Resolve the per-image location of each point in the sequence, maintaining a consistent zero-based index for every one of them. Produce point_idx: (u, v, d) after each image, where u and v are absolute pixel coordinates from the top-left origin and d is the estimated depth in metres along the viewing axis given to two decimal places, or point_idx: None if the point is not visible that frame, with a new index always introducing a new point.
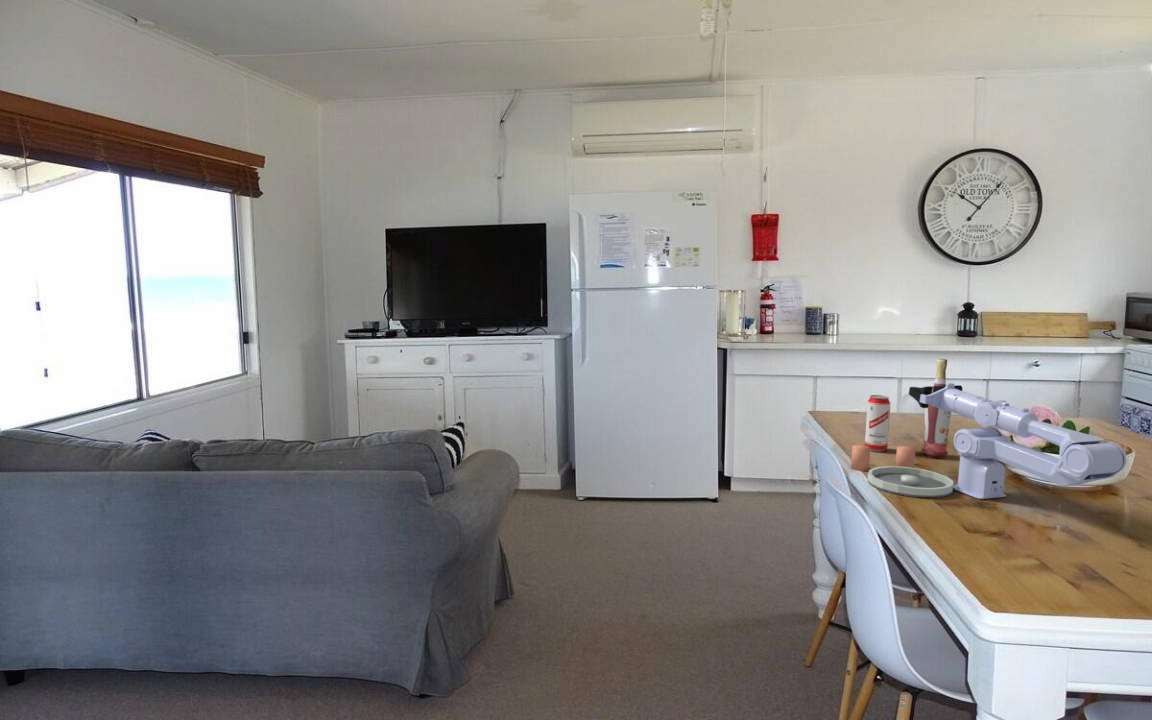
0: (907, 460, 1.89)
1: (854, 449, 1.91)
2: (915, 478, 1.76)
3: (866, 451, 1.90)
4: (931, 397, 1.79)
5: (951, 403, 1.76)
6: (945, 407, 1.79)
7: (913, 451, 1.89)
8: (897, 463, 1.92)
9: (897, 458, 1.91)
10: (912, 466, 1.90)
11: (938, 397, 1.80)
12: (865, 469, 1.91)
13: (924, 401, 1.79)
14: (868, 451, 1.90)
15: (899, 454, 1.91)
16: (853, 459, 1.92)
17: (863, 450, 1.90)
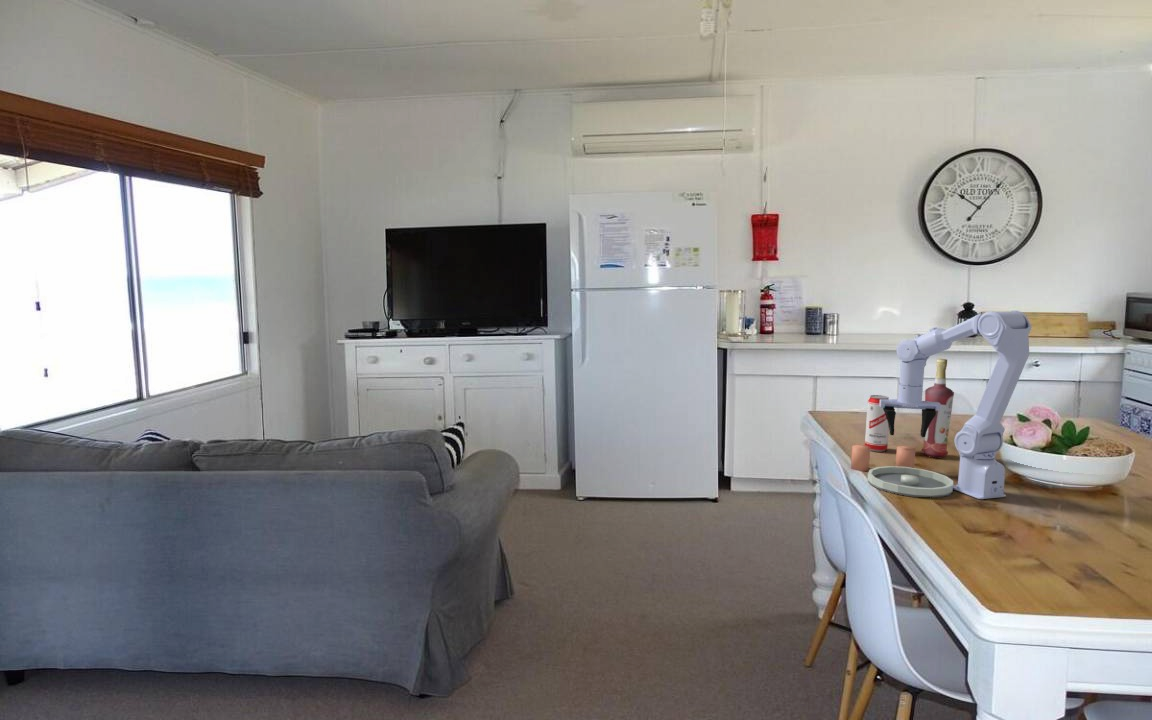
0: (907, 460, 1.89)
1: (854, 449, 1.91)
2: (915, 478, 1.76)
3: (866, 451, 1.90)
4: None
5: (899, 386, 1.90)
6: (902, 396, 1.88)
7: (913, 451, 1.89)
8: (897, 463, 1.92)
9: (897, 458, 1.91)
10: (912, 466, 1.90)
11: (896, 401, 1.91)
12: (865, 469, 1.91)
13: (880, 401, 1.91)
14: (868, 451, 1.90)
15: (899, 454, 1.91)
16: (853, 459, 1.92)
17: (863, 450, 1.90)
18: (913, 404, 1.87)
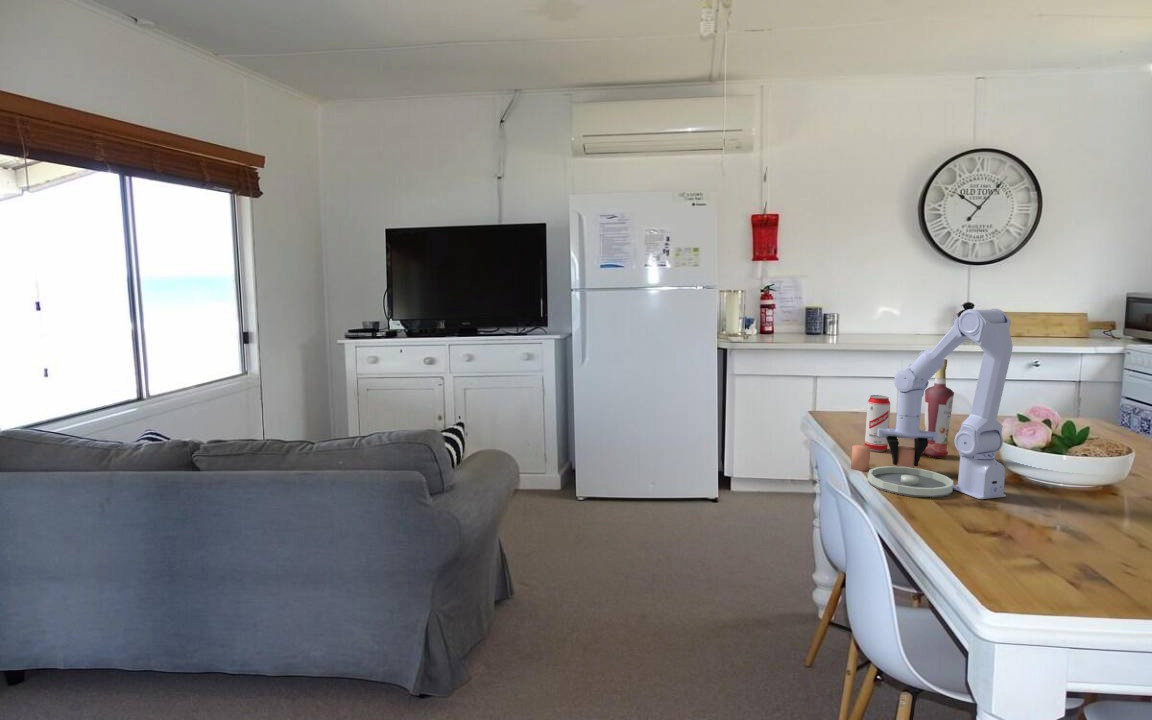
0: (907, 460, 1.89)
1: (854, 449, 1.91)
2: (915, 478, 1.76)
3: (866, 451, 1.90)
4: None
5: (897, 416, 1.91)
6: (900, 426, 1.89)
7: (913, 451, 1.89)
8: (897, 463, 1.92)
9: (897, 458, 1.91)
10: (912, 466, 1.90)
11: None
12: (865, 469, 1.91)
13: (878, 430, 1.92)
14: (868, 451, 1.90)
15: (899, 454, 1.91)
16: (853, 459, 1.92)
17: (863, 450, 1.90)
18: (911, 434, 1.88)
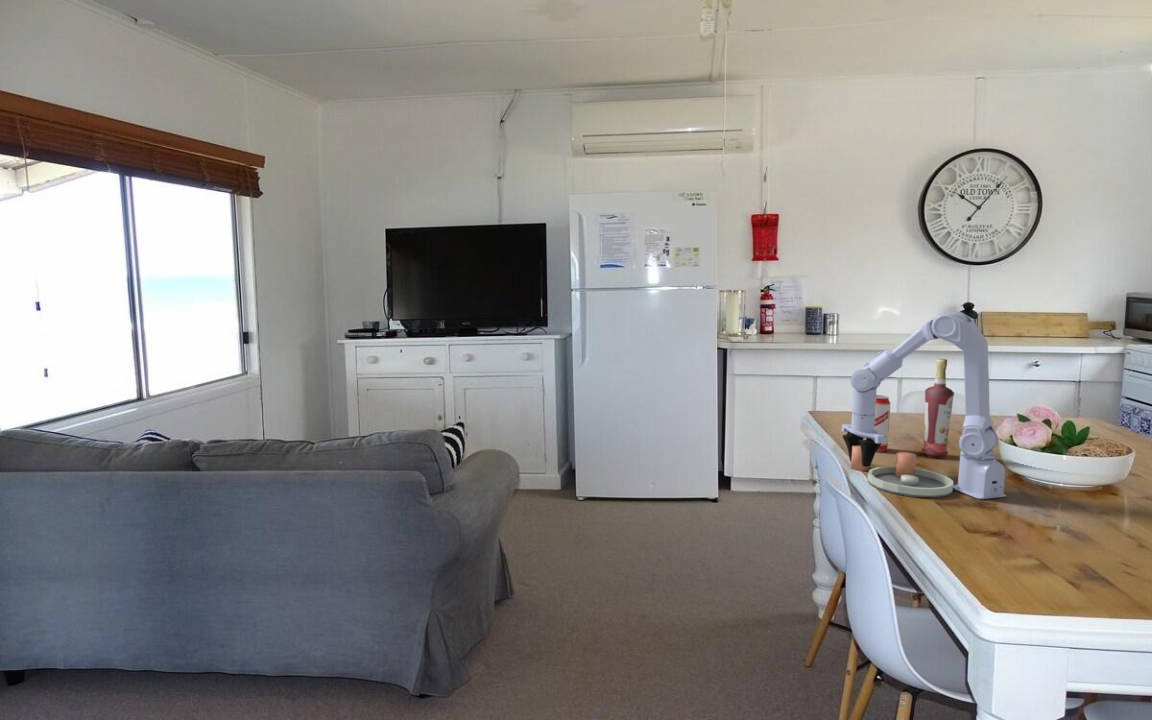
0: (907, 467, 1.81)
1: (854, 449, 1.91)
2: (915, 478, 1.76)
3: None
4: (851, 427, 1.96)
5: None
6: None
7: (914, 457, 1.81)
8: (897, 470, 1.83)
9: (897, 465, 1.83)
10: (913, 473, 1.81)
11: None
12: (865, 469, 1.91)
13: None
14: None
15: (899, 460, 1.82)
16: (853, 459, 1.92)
17: None
18: (853, 431, 1.90)
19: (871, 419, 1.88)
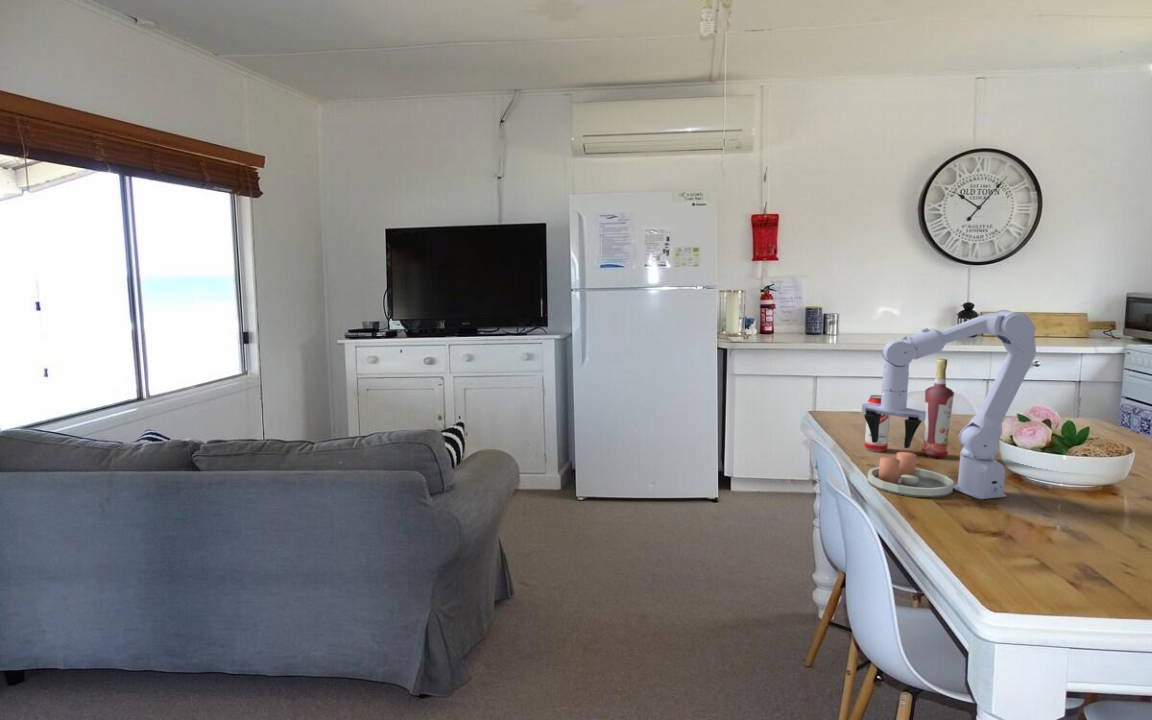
0: (907, 467, 1.81)
1: (887, 463, 1.75)
2: (915, 478, 1.76)
3: (898, 464, 1.76)
4: (872, 406, 1.79)
5: None
6: (881, 401, 1.75)
7: (914, 457, 1.81)
8: None
9: None
10: (913, 473, 1.81)
11: None
12: (897, 483, 1.76)
13: None
14: None
15: None
16: (886, 474, 1.76)
17: (897, 463, 1.75)
18: (890, 410, 1.73)
19: (906, 395, 1.73)
